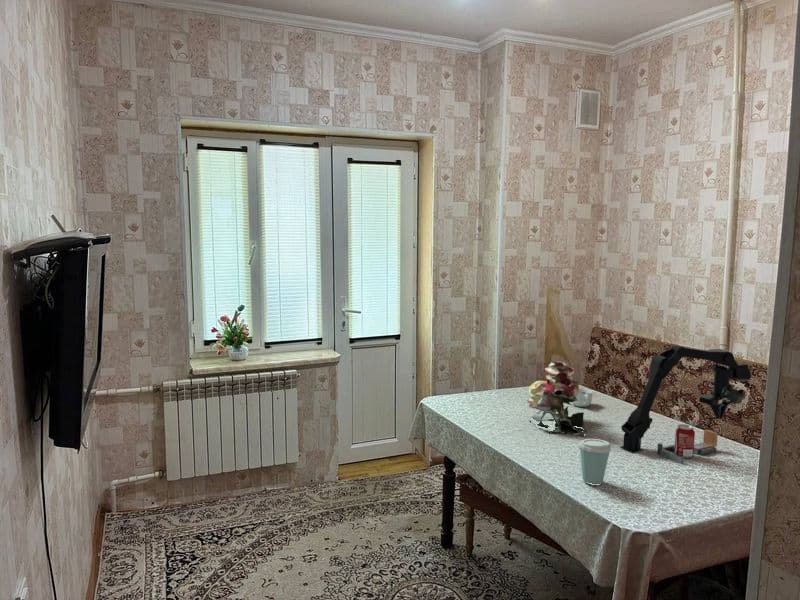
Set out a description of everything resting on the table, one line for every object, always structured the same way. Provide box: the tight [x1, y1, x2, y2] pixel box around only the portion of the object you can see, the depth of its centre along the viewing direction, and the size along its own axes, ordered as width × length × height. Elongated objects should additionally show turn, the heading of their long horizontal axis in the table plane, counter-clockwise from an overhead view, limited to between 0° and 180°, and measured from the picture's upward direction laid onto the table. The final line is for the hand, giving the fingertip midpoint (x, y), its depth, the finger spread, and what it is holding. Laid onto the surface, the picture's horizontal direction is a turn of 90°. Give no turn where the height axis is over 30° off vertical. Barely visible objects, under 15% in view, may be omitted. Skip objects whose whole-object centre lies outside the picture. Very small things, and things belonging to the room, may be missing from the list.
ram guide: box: [694, 442, 717, 456], centre depth 233 cm, size 8×6×2 cm
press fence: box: [657, 443, 684, 464], centre depth 228 cm, size 12×11×4 cm
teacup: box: [571, 387, 594, 408], centre depth 293 cm, size 14×11×8 cm
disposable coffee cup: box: [579, 438, 612, 484], centre depth 203 cm, size 11×11×15 cm
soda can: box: [673, 423, 696, 459], centre depth 228 cm, size 7×7×12 cm
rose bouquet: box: [526, 360, 587, 437], centre depth 263 cm, size 26×29×30 cm
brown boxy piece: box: [694, 429, 719, 455], centre depth 233 cm, size 10×5×7 cm, turn 116°
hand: (719, 418), depth 235 cm, fingers closed
